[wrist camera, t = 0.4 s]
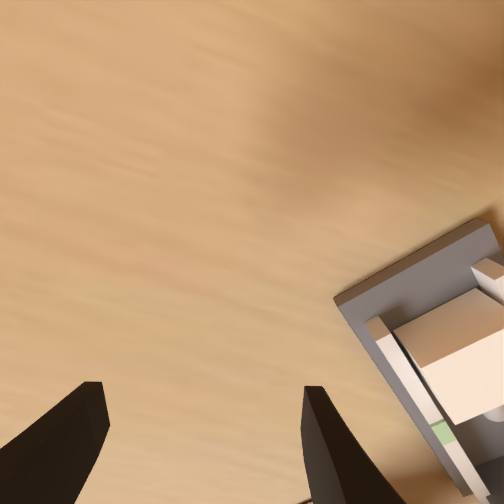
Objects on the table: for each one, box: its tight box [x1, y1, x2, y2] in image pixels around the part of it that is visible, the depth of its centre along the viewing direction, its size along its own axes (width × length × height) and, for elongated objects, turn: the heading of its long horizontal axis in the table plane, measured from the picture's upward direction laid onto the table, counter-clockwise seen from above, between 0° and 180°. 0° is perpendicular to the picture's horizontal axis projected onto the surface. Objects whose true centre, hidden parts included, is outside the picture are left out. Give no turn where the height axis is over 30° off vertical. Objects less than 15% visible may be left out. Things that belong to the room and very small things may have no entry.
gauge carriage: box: [393, 288, 504, 425], centre depth 19 cm, size 8×7×4 cm
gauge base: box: [333, 218, 504, 504], centre depth 20 cm, size 22×10×5 cm, turn 34°
